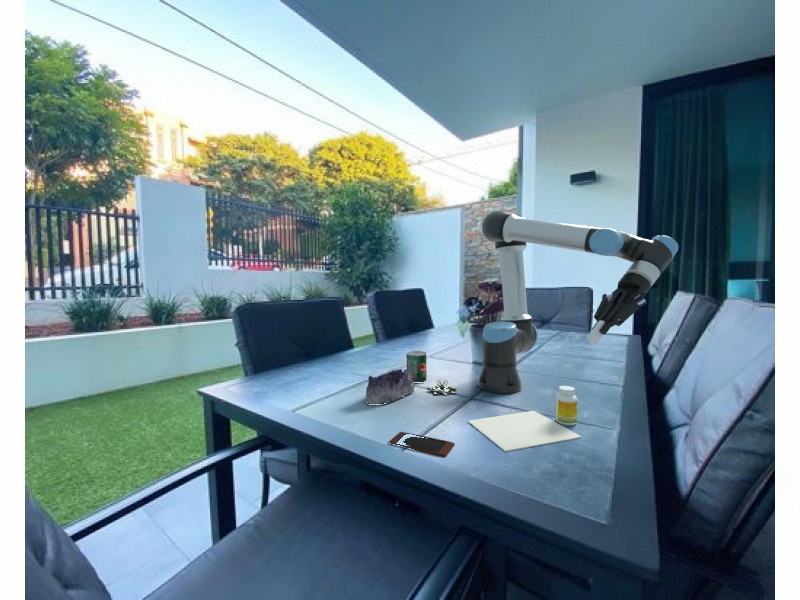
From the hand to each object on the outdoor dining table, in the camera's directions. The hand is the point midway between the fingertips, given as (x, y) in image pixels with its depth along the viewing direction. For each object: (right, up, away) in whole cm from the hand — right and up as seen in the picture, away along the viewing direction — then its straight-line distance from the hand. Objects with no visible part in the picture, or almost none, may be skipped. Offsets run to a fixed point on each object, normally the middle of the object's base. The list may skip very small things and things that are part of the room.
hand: (591, 340), depth 98 cm
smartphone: (-48, -24, -13) cm, 56 cm away
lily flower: (-39, -22, +27) cm, 52 cm away
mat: (-21, -23, -5) cm, 32 cm away
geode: (-57, -22, +21) cm, 65 cm away
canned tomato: (-47, -21, +40) cm, 65 cm away
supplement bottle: (-8, -23, -1) cm, 24 cm away
